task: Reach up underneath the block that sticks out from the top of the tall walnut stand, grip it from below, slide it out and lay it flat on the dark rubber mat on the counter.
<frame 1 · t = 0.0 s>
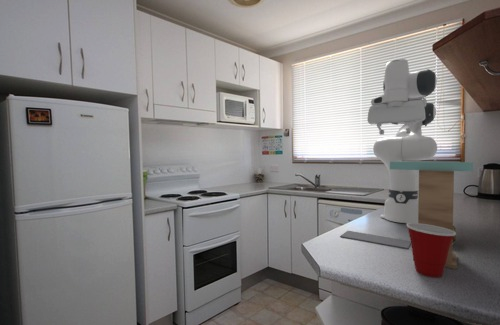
hand: (394, 133, 108), 39 cm above the worktop, tool pointing down, fingers open, 8 cm apart
block: (428, 170, 80), point 26 cm above the worktop, touching stand
potato: (442, 242, 95), on the worktop
mat: (374, 239, 98), on the worktop
plastic cup: (429, 273, 70), on the worktop
stand: (435, 258, 80), on the worktop
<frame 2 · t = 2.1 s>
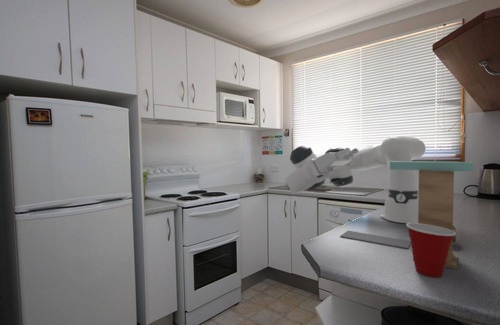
hand: (353, 149, 96), 32 cm above the worktop, tool pointing upward, fingers open, 8 cm apart
nothing on the worktop moved.
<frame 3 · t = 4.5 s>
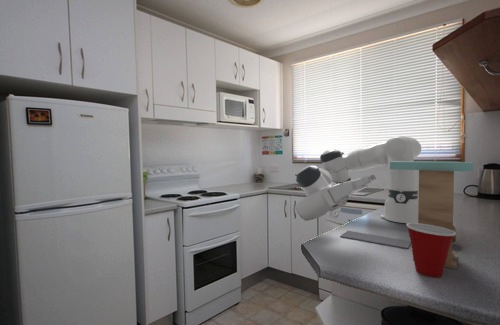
hand: (371, 177, 89), 23 cm above the worktop, tool pointing upward, fingers open, 8 cm apart
nothing on the worktop moved.
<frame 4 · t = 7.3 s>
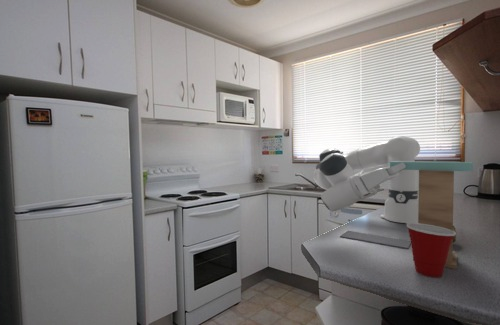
hand: (406, 164, 84), 28 cm above the worktop, tool pointing upward, fingers closed on block, 4 cm apart
block: (428, 170, 80), point 26 cm above the worktop, touching gripper, stand
everything else where it was.
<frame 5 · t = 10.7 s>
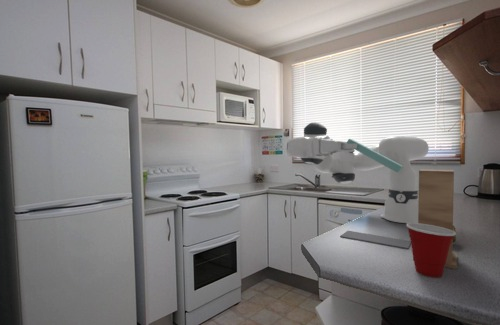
hand: (359, 146, 100), 34 cm above the worktop, tool horizontal, fingers closed on block, 4 cm apart
block: (371, 157, 98), point 29 cm above the worktop, tilted 30°, touching gripper
everything else where it was.
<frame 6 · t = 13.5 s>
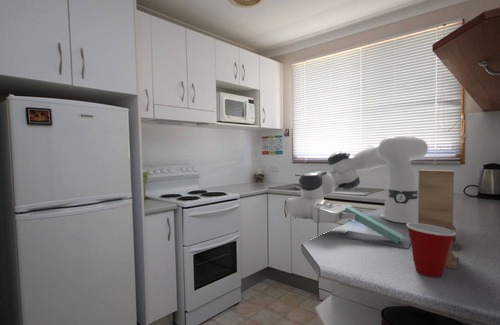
hand: (358, 215, 101), 8 cm above the worktop, tool horizontal, fingers closed on block, 4 cm apart
block: (370, 226, 99), point 4 cm above the worktop, tilted 24°, touching gripper, mat
everything else where it was.
when the fingers open (6 cm above the worktop, at t = 14.3 s): block drops 3 cm, resting on mat.
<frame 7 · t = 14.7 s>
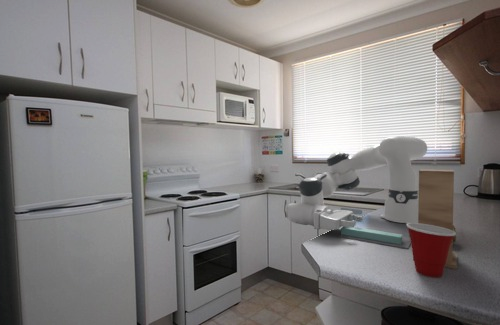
hand: (358, 221, 101), 6 cm above the worktop, tool horizontal, fingers open, 8 cm apart
block: (370, 237, 99), resting on mat
everything else where it was.
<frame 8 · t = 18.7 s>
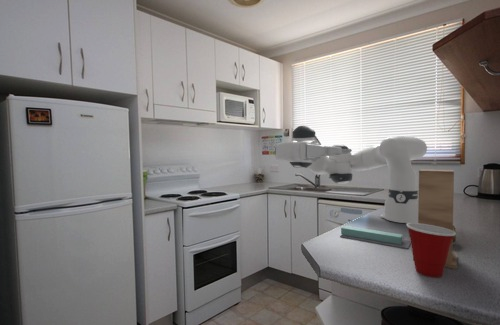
hand: (345, 151, 101), 32 cm above the worktop, tool horizontal, fingers open, 8 cm apart
nothing on the worktop moved.
at the end: block inside the target area (1.5 cm from its centre), resting on mat; the gripper is holding nothing; block touching mat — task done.
